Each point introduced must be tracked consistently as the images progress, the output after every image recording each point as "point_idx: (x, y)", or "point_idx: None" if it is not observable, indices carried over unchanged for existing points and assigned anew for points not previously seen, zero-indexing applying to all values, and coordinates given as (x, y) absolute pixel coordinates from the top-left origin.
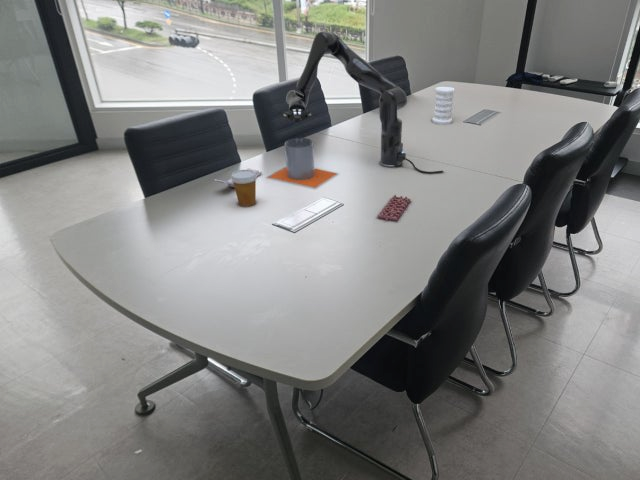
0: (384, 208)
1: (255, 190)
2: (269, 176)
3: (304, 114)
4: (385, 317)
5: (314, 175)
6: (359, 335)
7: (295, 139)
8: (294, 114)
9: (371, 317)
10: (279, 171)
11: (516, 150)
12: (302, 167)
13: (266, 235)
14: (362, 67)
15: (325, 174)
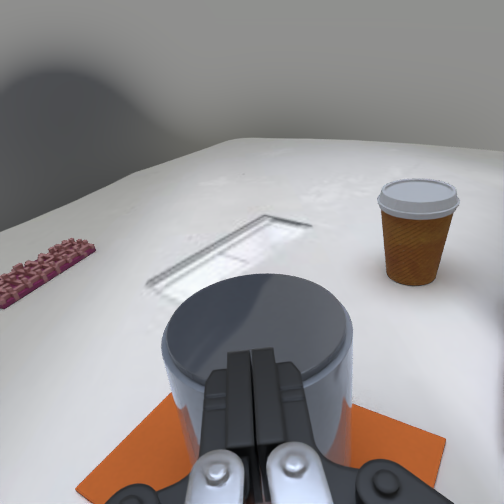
0: (66, 254)
1: (384, 240)
2: (441, 444)
3: (112, 502)
4: (173, 160)
5: None
6: (200, 152)
7: (282, 352)
8: (310, 454)
9: (185, 159)
10: None
11: None
12: None
13: (313, 208)
14: None
15: (140, 474)
